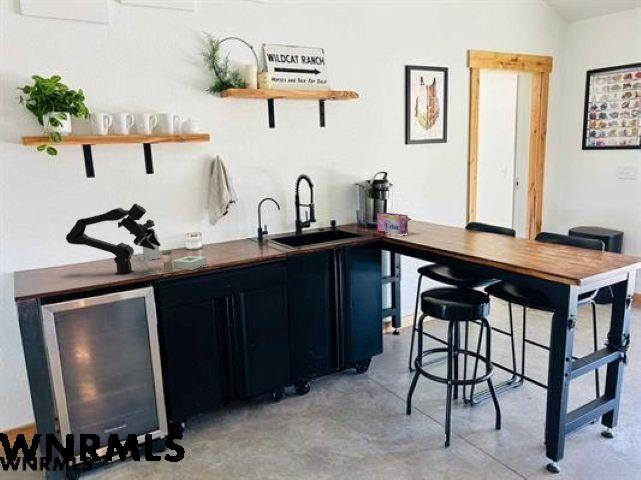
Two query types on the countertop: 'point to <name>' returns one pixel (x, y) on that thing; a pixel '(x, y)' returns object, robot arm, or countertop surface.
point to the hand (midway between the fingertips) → (157, 247)
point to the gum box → (393, 223)
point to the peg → (167, 261)
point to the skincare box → (151, 252)
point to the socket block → (189, 262)
